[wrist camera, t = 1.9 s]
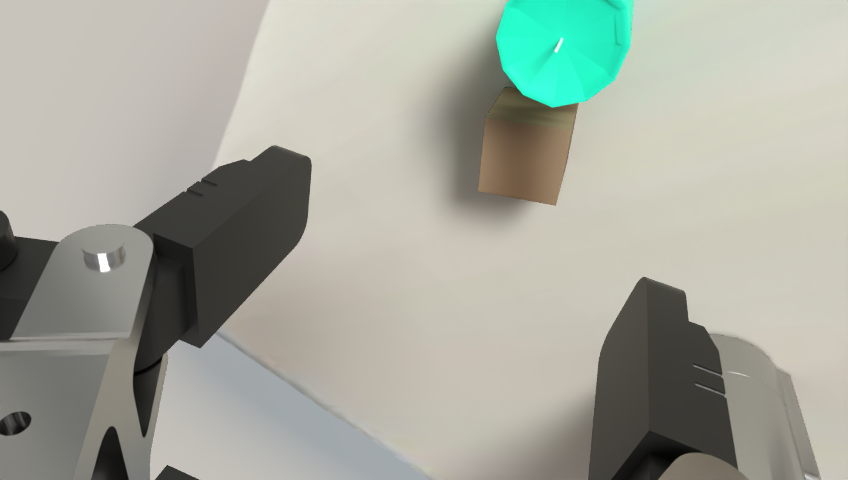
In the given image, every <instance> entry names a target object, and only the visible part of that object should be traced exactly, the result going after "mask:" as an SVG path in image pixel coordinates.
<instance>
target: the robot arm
mask: <svg viewBox="0 0 848 480" xmlns="http://www.w3.org/2000/svg"><path fill="white" fill-rule="evenodd" d="M311 168H312V165H311V160H310V158H309V157H307V156H304V155H301V154H299V153H296V152H293V151H290V150H287V149H285V148H282V147H279V146H276V145H274V146H271V147H269V148H268V149H267V150H265V151H264V152H262V153H261V154H260V155H258V156H257V157H256V158H254V159H253V160H252V161H247V160H244V159H243V160H240V161H236V162H233V163H230V164H226V165H223V166H220V167H218V168H217V169H215V170H214V171H212V172H211V173H209V174H208V175H207V176H206V177H204V178H202V180H201V182H199V181H198V182H196V183H195V184H193V185H192V186H191V187H189V188H188V189H187V191H186V192H182V193H180V194H179V195H178V196H176V197H175V198H173V199H172V200H170V201H169V202H167V203H166V204H164V205H163V206H162V207H160V208H159V209H157V210H156V211H154V212H153V213H151V214H150V215H149V216H147V217H146V218H144V219H143V220H141V221H140V222H138V223H137V224H135V225H134V226H133V227H130V226H126V225H117V224H106V225H97V226H92V227H88V228H85V229H81V230H79V231H76V232H74V233H72V234H70V235H68V236H67V237H65V238H64V239H63V240H61V241H60V242H54V241H47V240H39V239H31V238H23V237H16V236H14V235H13V232H12V229H11V226H10V223H9V219H8V218H7V216H6V215H5V214H4V213H3V212H2V211H0V480H150V454H151V447H152V441H153V436H154V431H155V426H156V421H157V415H158V410H159V405H160V400H161V395H162V390H163V384H164V379H165V374H166V369H167V364H168V355H167V351H168V349H170V348H171V347H172V346H173V345H174V343H175V342H177V341H178V340H182V341H184V342H187V343H189V344H191V345H193V346H196V347H198V348H201V347H202V346H203V345H204V344H205V343H206V342H207V341H208V340H209V339H210V338H211V336H212V335H213V334H214V333H215V332H216V331H217V330H218V329H219V328H220V327H221V326H222V325H223V324H224V323H225V321H226V320H227V319H228V318H229V317H230V316H231V315H232V314H233V313H234V312H235V311H236V310H237V309H238V308H239V306H240V305H241V304H242V303H243V302H244V301H245V300H246V299H247V298H248V297H249V296H250V295H251V294H252V292H253V291H254V290H255V289H256V288H257V287H258V286H259V285H260V284H261V283H262V282H263V281H264V280H265V279H266V277H267V276H268V275H269V274H270V273H271V272H272V271H273V270H274V269H275V268H276V267H277V266H278V265H279V264H280V262H281V261H282V260H283V259H284V258H285V257H286V256H287V255H288V254H289V253H290V252H291V251H292V250H293V249H294V247H295V246H296V245H297V244H298V242H299V241H300V239H301V237H302V235H303V233H304V230H305V227H306V223H307V218H308V206H309V194H310V181H311ZM155 480H199V479H196V478H194V477H192V476H190V475H188V474H186V473H184V472H181V471H179V470H177V469H175V468H173V467H170V466H168V465H167V466H166V467H165V468H164V470H163V471H162V472H161V473H160V474H159V476H158V477H157V478H156V479H155ZM588 480H821V477H820V473H819V470H818V467H817V463H816V460H815V457H814V453H813V450H812V447H811V443H810V440H809V436H808V433H807V430H806V426H805V423H804V420H803V416H802V413H801V410H800V406H799V403H798V400H797V396H796V393H795V390H794V386H793V383H792V380H791V376H790V375H789V374H787V373H784V372H782V371H780V370H778V369H777V368H776V367H775V366H774V364H773V363H772V361H771V360H770V358H769V357H768V356H767V355H766V354H765V353H763V352H762V351H761V350H760V349H758V348H757V347H755V346H753V345H752V344H750V343H748V342H745V341H742V340H740V339H737V338H733V337H728V336H723V335H709V334H708V332H707V331H706V329H705V328H704V327H703V326H700V325H698V324H695V323H692V322H689V320H688V311H687V301H686V294H685V292H684V291H683V290H680V289H677V288H674V287H672V286H669V285H666V284H663V283H660V282H657V281H655V280H652V279H649V278H646V277H642V278H641V279H640V280H639V281H638V283H637V284H636V286H635V287H634V289H633V291H632V293H631V294H630V296H629V298H628V299H627V301H626V303H625V305H624V306H623V308H622V310H621V311H620V313H619V315H618V317H617V318H616V320H615V322H614V323H613V325H612V327H611V329H610V330H609V332H608V334H607V336H606V339H605V341H604V344H603V346H602V349H601V353H600V357H599V363H598V374H597V385H596V397H595V408H594V420H593V431H592V442H591V454H590V465H589V477H588Z"/></svg>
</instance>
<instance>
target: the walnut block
mask: <svg viewBox="0 0 848 480" xmlns="http://www.w3.org/2000/svg"><path fill="white" fill-rule="evenodd" d="M577 108H578V103H574V104H569V105H564V106H558V107H553V108H552V107H550V106H548V105H545V104H543V103H541V102H538V101H536V100H534V99H531V98H529V97H527V96H524V95H523V94H522V93H521V92H520V91H519V89H516V88H509V87H505V88H504V89H503V91H502V92H501V94H500V95H499V97H498V99H497V100H496V102H495V103H494V105H493V106H492V108H491V109H490V111H489V112H488V114H487V116H486V117H485V125H484V135H483V145H482V155H481V165H480V175H479V185H478V191H480V192H485V193H491V194H496V195H501V196H507V197H512V198H518V199H523V200H528V201H534V202H539V203H545V204H550V205H555V206H556V203H557V199H558V195H559V191H560V187H561V183H562V180H563V176H564V172H565V168H566V164H567V159H568V154H569V149H570V143H571V138H572V133H573V128H574V123H575V118H576V113H577Z"/></svg>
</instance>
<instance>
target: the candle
mask: <svg viewBox="0 0 848 480" xmlns="http://www.w3.org/2000/svg"><path fill="white" fill-rule="evenodd" d="M632 16H633V0H509V1H508V2H507V3H506V5H505V9H504V12H503V15H502V18H501V22H500V25H499V28H498V32H497V35H496V42H497V46H498V51H499V55H500V60H501V64H502V69H503V71H504V72H505V73H506V74H507V76H508V77H509V78H510V79H511V81H512V82H513V83H514V84H515V86H516V87H517V88H518V89H519V91H520V92H521V93H522V94H523V95H524V96H527V97H529V98H531V99H534V100H536V101H538V102H541V103H543V104H545V105H548V106H550V107H552V108H553V107H558V106H564V105H569V104H574V103H579V102H584V101H587V100H589V99H590V98H591V97H593V96H594V95H595V94H597V93H598V92H599V91H601V90H602V89H603V88H605V87H606V86H607V85H609V84H610V83H611V82H613V81H614V80H615V78H616V76H617V74H618V72H619V70H620V67H621V65H622V63H623V61H624V59H625V57H626V54H627V52H628V50H629V48H630V44H631V30H632Z"/></svg>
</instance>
